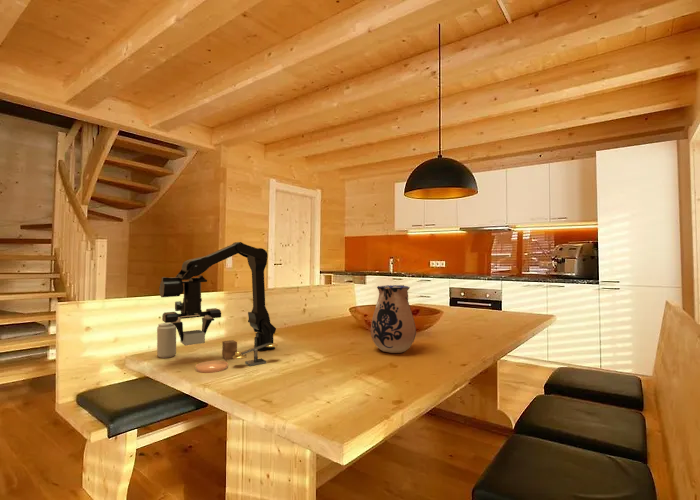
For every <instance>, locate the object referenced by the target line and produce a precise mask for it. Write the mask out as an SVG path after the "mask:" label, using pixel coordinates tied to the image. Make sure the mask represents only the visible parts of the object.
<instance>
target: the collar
mask: <svg viewBox="0 0 700 500" xmlns="http://www.w3.org/2000/svg"><path fill="white" fill-rule="evenodd" d="M180 343H181V344H182V345H184V346H193V345H198V344H199V345H200V344H205V343H206V334H205V333H204V332H203V331H202V329H195V330H185V331H184V330H183V341H181V339H180Z"/></svg>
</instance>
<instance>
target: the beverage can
mask: <svg viewBox="0 0 700 500" xmlns="http://www.w3.org/2000/svg"><path fill="white" fill-rule="evenodd" d="M156 331H157V332H156V334H157V335H156V341H157V342H156V348H157V349H156V354H157V355H156V356H157V357H159V358H162V359H167V358H168V359H169V358H173V357H174V356H175V355H176V354H177V328H176V326H175V325H173V324H172V323H165V322H161V323H158V326H157V328H156Z"/></svg>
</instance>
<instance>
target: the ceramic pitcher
mask: <svg viewBox="0 0 700 500" xmlns="http://www.w3.org/2000/svg"><path fill="white" fill-rule="evenodd" d="M376 288H377V291H378V298H377V301H376V304H375V308H374V311H373V314H372V319H371V323H370V335H371V339H372V342H373V343H374V345H375V346H376V347H377V348H378V349H379V350H380V351H381V352H384V353H390V354H400V353H405V352H406V351H407V350H409V349H410V348H411V346H412V345H413V343H414V341H415V340H416V335H417V328H416V323H415V318H414V316H413V315H414V314H413V312H412V310H411V305H410V302H409V290H410V288H411V287H410V286H407V285H404V284H403V285H397V284H396V285H394V284H393V285H391V284H390V285H388V284H387V285H378V286H377V287H376Z"/></svg>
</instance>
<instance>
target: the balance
mask: <svg viewBox="0 0 700 500" xmlns="http://www.w3.org/2000/svg"><path fill="white" fill-rule="evenodd" d="M265 346H266V347H275V348H276V347H278V346H279V345H278V343H274V342H273V343H266V344H263V345H261V346H258V347H255V348H254V347H252V348H250V349H248V350H244V351H242V352H241V351H238V350H237V352H235V355H234V356H233V358H234V359H233V360H242V359H245V358H247V355H246V354H249V353H250V352H251V353H252V352H253V359H250V360H245V361H244V362H245V363H244V364H245V365H247V366H249V367H253V366H258V365H264V364H267V360H266V359H264V358H258V354H259V353H258V351H259V350H258V349H259V348H262V347H265Z"/></svg>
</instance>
